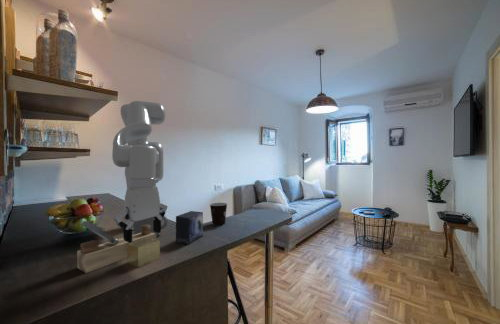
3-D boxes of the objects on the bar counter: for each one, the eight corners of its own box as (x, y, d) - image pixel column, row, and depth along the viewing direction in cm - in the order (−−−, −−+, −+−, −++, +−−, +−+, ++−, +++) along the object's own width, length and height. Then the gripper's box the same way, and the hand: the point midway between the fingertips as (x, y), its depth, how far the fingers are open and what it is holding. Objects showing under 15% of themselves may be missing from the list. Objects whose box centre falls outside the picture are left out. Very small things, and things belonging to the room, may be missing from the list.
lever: (109, 242, 71) (80, 224, 64) (112, 238, 72) (84, 220, 65) (116, 245, 68) (87, 226, 62) (119, 241, 69) (91, 222, 63)
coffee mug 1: (129, 240, 87) (129, 215, 87) (138, 232, 97) (138, 210, 97) (163, 238, 89) (163, 214, 89) (169, 231, 99) (169, 209, 99)
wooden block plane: (77, 267, 64) (77, 241, 64) (146, 244, 83) (146, 223, 83) (86, 273, 61) (85, 244, 61) (156, 247, 80) (155, 225, 80)
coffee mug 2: (219, 220, 116) (219, 202, 116) (230, 223, 110) (230, 203, 110) (202, 225, 107) (201, 205, 107) (213, 228, 101) (213, 207, 101)
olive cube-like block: (138, 267, 64) (138, 247, 64) (127, 263, 67) (127, 244, 67) (159, 258, 70) (159, 240, 70) (149, 254, 73) (148, 237, 73)
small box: (189, 245, 81) (188, 217, 81) (175, 243, 83) (174, 216, 83) (204, 236, 91) (203, 211, 91) (190, 234, 93) (190, 210, 93)
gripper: (159, 180, 78) (160, 227, 78) (107, 185, 63) (108, 243, 64) (173, 181, 74) (173, 230, 74) (121, 187, 59) (121, 248, 60)
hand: (143, 236), depth 69 cm, fingers open, 9 cm apart
